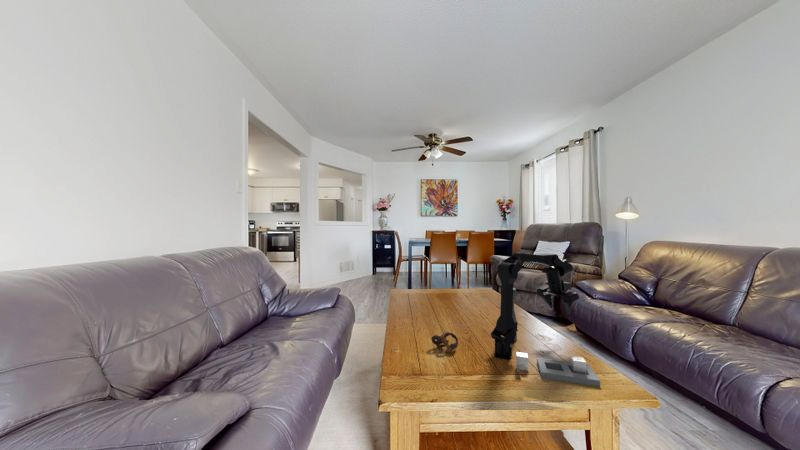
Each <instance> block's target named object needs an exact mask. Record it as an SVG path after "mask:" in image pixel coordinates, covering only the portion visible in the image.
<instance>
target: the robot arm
mask: <svg viewBox="0 0 800 450" xmlns="http://www.w3.org/2000/svg"><path fill="white" fill-rule="evenodd" d="M525 262H529V263H538V264H540V265H542V266H544V267H543V269H542V270H541V273H543V274H545V277H546V282H545V285H542V286H540V287H537V289H536V294H537V295H538V296H539V297H540V298H542V299H543V301H544V302H545V303H546V304H547V305H548V307H549V308H550V309H552V308H553V307H554V305H553V299H552V298H553V297H552V295H553V296H558V297H561V299H562V303H563V306H564V308H565V311H566V313H567V314H568V315H569V314H570V313H571V311H572V306H573V303H574V302H575V301H578V300H579V299H580V295H579V293H577V292H574V291H571V290H572V284H573V283H572V282H567V281H564V280H563V279H561V277H564V276H566V275H568V274H571V273H573V271H574V267H573V265H572V264H571V263H570V262H569V261H568V259H560V257H559V255H558V254H555V253H546V252H544V253H539V254H534V253H533V254H532V253H524V252H520V251H519V252H518V251H517V252H514V253H513V254H512V255H510V256H509V257H507V258H505V259H504V260H503V261H501V262H500V263H499V264H498V265H497V276H498V279H499V281H500V283H501V286H500V287H501V288H500V289H501V291H500V313H499V314H500V316H498V318H497V320H496V324H495V327H494V329H492V331H491V333H490V336H491V338H492V339H493V340H494V357H495V358H499V359H506V360H507V359H508V360H511V359H512V356H513V355H512V354H513V347H512V345H513V344H514V343H515V341H514V340H515V336H516V333H517V332H518V331H519V330H518V326H519V325H518V321H514V319H513V316H512V315H513V288H514V284H515V282H516V281H517V280H518V277H519V276H518V275H519V272H520V271H521V270H522V269H523V265H524V263H525ZM545 266H547V267H545ZM567 290H569V291H568V292H567ZM504 337H505V338H504Z"/></svg>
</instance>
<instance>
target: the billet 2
mask: <svg viewBox="0 0 800 450" xmlns="http://www.w3.org/2000/svg"><path fill="white" fill-rule="evenodd" d="M570 362H571V372H572V373H579V374H586V364H587V361H586V359H585V358H584V357H583V356H582V357H581V356H575V355H570Z"/></svg>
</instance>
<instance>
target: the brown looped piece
mask: <svg viewBox="0 0 800 450" xmlns="http://www.w3.org/2000/svg"><path fill="white" fill-rule="evenodd" d="M449 336H451V337H452V338H453V339H455V342H454V343H450V345H449V342H450V341H449V340H448V339H446V338H447V337H449ZM430 339H431V342H432V343H433V344H434V345H435V346H436V347H437V348H439V346H440V345H442V344H443V345H444V346H445V347H446V349H445V353H448V354H450V353H451V352H452V351H454V350H456V349H457V348H458V346H459V338H458V337H457V335H456V334H455V333H452V332H450V331H445V332H444V333H442V334H441V335H437V334H434V335H432V337H431V338H430Z"/></svg>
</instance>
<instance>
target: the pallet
mask: <svg viewBox="0 0 800 450" xmlns="http://www.w3.org/2000/svg"><path fill="white" fill-rule="evenodd" d="M536 363H537V366H538V370H539V373H540V376H541V379H546V380H553V381H559V382H567V383H572V384H578V385H579V384H580V385H587V386H593V387H601V379H600V378H599V377H598V375H597V374H596V373H595V371H594V369H593V368H592V367H591V365H590V364H588V363H586V374H579V373H572V372H571V361H565V360H559V359H551V358H543V357H536Z"/></svg>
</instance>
